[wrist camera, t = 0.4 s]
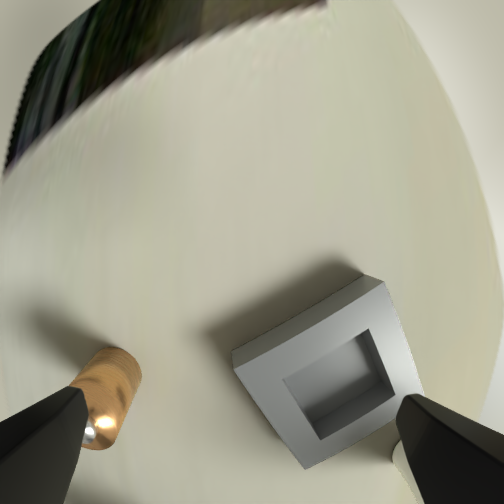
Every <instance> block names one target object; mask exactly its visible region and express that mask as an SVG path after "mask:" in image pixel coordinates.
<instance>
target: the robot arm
mask: <svg viewBox="0 0 504 504" xmlns="http://www.w3.org/2000/svg"><path fill="white" fill-rule="evenodd" d="M88 417H89V411H88V407H87V403H86V400H85V396H84V392H83V390H82V389H81V388H78V387H73V386H67V387H65V388H63V389H61V390H59V391H58V392H56V393H54V394H52V395H50V396H48V397H46V398H45V399H43V400H41V401H39V402H37V403H35V404H34V405H32V406H30V407H28V408H26V409H24V410H22V411H20V412H19V413H17V414H15V415H13V416H11V417H9V418H7V419H5V420H3V421H1V422H0V504H63V503H64V500H65V497H66V494H67V491H68V488H69V485H70V482H71V479H72V476H73V473H74V471H75V468H76V465H77V462H78V458H79V454H80V450H81V446H82V441H83V437H84V433H85V429H86V425H87V421H88ZM396 425H397V428H398V431H399V435H400V438H401V441H402V445H403V448H404V452H405V455H406V458H407V462H408V464H409V467H410V469H411V472H412V474H413V477H414V479H415V482H416V484H417V487H418V489H419V492H420V494H421V497H422V499H423V502H424V504H504V435H503V434H501V433H499V432H496V431H494V430H492V429H490V428H488V427H485V426H483V425H481V424H479V423H477V422H475V421H473V420H471V419H469V418H467V417H465V416H462V415H460V414H458V413H456V412H454V411H452V410H450V409H448V408H446V407H444V406H442V405H440V404H438V403H436V402H434V401H432V400H430V399H428V398H426V397H424V396H422V395H420V394H418V393H414V394H408V395H406V396H404V398H403V400H402V402H401V405H400V407H399V410H398V412H397V415H396Z"/></svg>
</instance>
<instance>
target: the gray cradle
mask: <svg viewBox="0 0 504 504" xmlns="http://www.w3.org/2000/svg"><path fill="white" fill-rule="evenodd" d="M231 353H232V362H233V370H234V371H235V373H236V374H237V376H238V377H239V379H240V380H241V382H242V383H243V385H244V386H245V388H246V389H247V391H248V392H249V394H250V395H251V397H252V398H253V399H254V401H255V402H256V404H257V405H258V407H259V408H260V409H261V411H262V412H263V414H264V415H265V417H266V418H267V419H268V421H269V422H270V424H271V425H272V426H273V428H274V429H275V431H276V432H277V433H278V435H279V436H280V437H281V439H282V440H283V441H284V443H285V444H286V446H287V447H288V448H289V450H290V451H291V452H292V454H293V455H294V456H295V458H296V459H297V460H298V461H299V463H300V464H301V465H302V467H303V468H304V469H305V470H306V469H308V468H310V467H312V466H314V465H316V464H318V463H320V462H322V461H324V460H326V459H327V458H329V457H331V456H333V455H335V454H337V453H339V452H341V451H342V450H344V449H346V448H348V447H349V446H351V445H353V444H355V443H356V442H358V441H360V440H361V439H363V438H365V437H366V436H368V435H370V434H371V433H373V432H375V431H376V430H378V429H379V428H381V427H382V426H384V425H386V424H387V423H389V422H390V421H392V420H393V419H395V418H396V415H397V412H398V410H399V407H400V405H401V402H402V400H403V398H404V396H406V395H408V394H414V393H418V394H420V395H422V396H424V397H425V395H424V392H423V389H422V385H421V382H420V379H419V376H418V373H417V369H416V366H415V363H414V360H413V357H412V354H411V351H410V348H409V346H408V343H407V340H406V337H405V334H404V331H403V329H402V326H401V323H400V321H399V318H398V315H397V313H396V310H395V307H394V305H393V302H392V300H391V297H390V295H389V292H388V290H387V287H386V285H385V282H384V281H381V280H379V279H376V278H373V277H371V276H368V275H363V276H361V277H360V278H358V279H357V280H355V281H353V282H352V283H350V284H349V285H347V286H345V287H344V288H342V289H340V290H339V291H337V292H336V293H334V294H332V295H331V296H329V297H327V298H326V299H324V300H322V301H321V302H319V303H317V304H315V305H314V306H312V307H310V308H309V309H307V310H305V311H303V312H302V313H300V314H298V315H296V316H295V317H293V318H291V319H289V320H288V321H286V322H284V323H282V324H281V325H279V326H277V327H275V328H273V329H272V330H270V331H268V332H266V333H264V334H262V335H261V336H259V337H257V338H255V339H253V340H251V341H250V342H248V343H246V344H244V345H242V346H240V347H238V348H236V349H234V350H232V351H231Z"/></svg>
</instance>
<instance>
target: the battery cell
mask: <svg viewBox="0 0 504 504" xmlns="http://www.w3.org/2000/svg"><path fill="white" fill-rule="evenodd" d="M141 378H142V374H141V369H140V366H139V364H138V363H137V361H136V360H135V359H134V357H133V356H131V355H130V354H129V353H128V352H126V351H124V350H122V349H119V348H115V347H107V348H104V349H101V350H100V351H98V352H97V353H96V354H95V356H94V357H93V358H92V359H91V360H90V361H89V362H88V364H87V365H86V366H85V367H84V368H83V369H82V371H81V372H80V373H79V374H78V375H77V376H76V378H75V379H74V380H73V381H72V382H71V384H70V385H69V386H73V387H78V388H81V389H82V390H83V392H84V396H85V400H86V403H87V407H88V411H89V417H88V421H87V425H86V429H85V433H84V437H83V441H82V446H81V447H84V448H87V449H91V450H103V449H107V448H109V447H110V446H112V445H113V444H114V442H115V440H116V438H117V435H118V433H119V431H120V428H121V426H122V424H123V421H124V419H125V417H126V414H127V412H128V410H129V407H130V405H131V403H132V401H133V398H134V396H135V394H136V392H137V389H138V387H139V385H140V383H141Z"/></svg>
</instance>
